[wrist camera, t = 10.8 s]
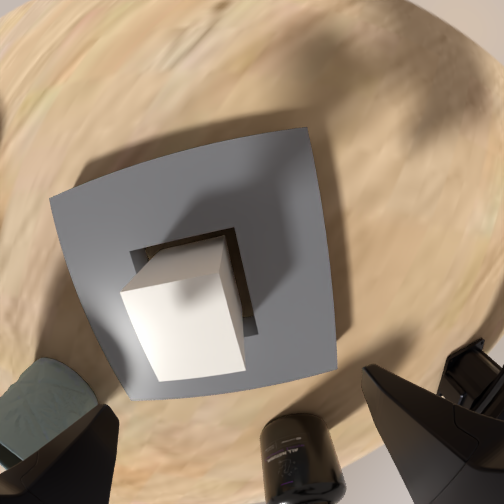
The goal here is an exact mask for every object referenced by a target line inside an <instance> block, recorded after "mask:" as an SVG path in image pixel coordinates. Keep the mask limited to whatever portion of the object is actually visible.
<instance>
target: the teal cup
mask: <svg viewBox="0 0 504 504" xmlns="http://www.w3.org/2000/svg"><path fill="white" fill-rule="evenodd" d="M96 405H98V401H97V399H96V396H95V394H94V392H93V391H92V390H91V388H90V387H89V385H88V384H87V383H86V382H85V381H84V380H83V379H82V378H81V377H80V376H79V375H78V374H77V373H76V372H75V371H73V370H72V369H71V368H69V367H68V366H66V365H65V364H63V363H61V362H59V361H57V360H54V359H51V358H40V359H38V360H36V361H35V362H34V363H33V364H32V365H31V366H30V367H28V368H27V369H26V370H25V371H24V372H23V373H22V374H21V376H20V377H19V379H18V381H17V382H16V383H14V384H12V385H11V386H10V387H9V389H8V390H7V391H6V392H5V393H4V394H3V395H2V396H1V397H0V465H1V466H2V467H4V468H5V469H6V470H8V469H10V468H11V467H13V466H15V465H17V464H18V463H20V462H21V461H23V460H25V459H26V458H28V457H29V456H30V455H32V454H33V453H35V452H36V451H37V450H39V449H40V448H41V447H43V446H44V445H45V444H47V443H48V442H49V441H51V440H52V439H53V438H55V437H56V436H57V435H59V434H60V433H61V432H63V431H64V430H65V429H67V428H68V427H69V426H71V425H72V424H73V423H74V422H76V421H77V420H78V419H80V418H81V417H82V416H84V415H85V414H86V413H87V412H89V411H90V410H91V409H93V408H94V407H95V406H96Z"/></svg>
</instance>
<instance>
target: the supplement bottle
mask: <svg viewBox="0 0 504 504" xmlns="http://www.w3.org/2000/svg"><path fill="white" fill-rule="evenodd" d="M260 447H261V458H262V469H263V480H264V490H265V500H266V504H337V503H338V502H339V501H340V500H341V499H342V498H343V497H344V495H345V492H346V483H345V480H344V477H343V473H342V470H341V467H340V464H339V461H338V458H337V455H336V451H335V448H334V445H333V442H332V439H331V436H330V433H329V430H328V427H327V425H326V423H325V422H324V420H323V419H321V418H320V417H318V416H315V415H312V414H292V415H287V416H284V417H281V418H278V419H276V420H274V421H272V422H271V423H269V424H268V425H267V426H266V427H265V428H264V429H263V431H262V433H261V435H260Z"/></svg>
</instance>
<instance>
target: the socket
mask: <svg viewBox="0 0 504 504" xmlns="http://www.w3.org/2000/svg"><path fill="white" fill-rule="evenodd" d="M49 200H50V205H51V210H52V214H53V218H54V222H55V226H56V230H57V234H58V237H59V241H60V244H61V248H62V251H63V254H64V258H65V261H66V264H67V267H68V270H69V273H70V276H71V278H72V281H73V284H74V287H75V289H76V292H77V294H78V297H79V299H80V302H81V304H82V307H83V309H84V312H85V314H86V316H87V319H88V321H89V323H90V325H91V328H92V330H93V332H94V334H95V336H96V338H97V340H98V342H99V344H100V346H101V348H102V350H103V352H104V354H105V356H106V358H107V360H108V362H109V364H110V366H111V367H112V369H113V371H114V373H115V375H116V376H117V378H118V380H119V381H120V383H121V385H122V387H123V388H124V390H125V392H126V393H127V395H128V396H129V398H130V400H131V401H140V400H164V399H179V398H190V397H200V396H209V395H217V394H224V393H231V392H238V391H244V390H250V389H255V388H261V387H266V386H271V385H276V384H281V383H285V382H290V381H294V380H298V379H302V378H306V377H310V376H314V375H318V374H322V373H325V372H329V371H332V370H336V369H337V346H336V328H335V314H334V302H333V291H332V280H331V271H330V262H329V253H328V245H327V238H326V230H325V223H324V216H323V210H322V203H321V197H320V191H319V185H318V180H317V174H316V169H315V163H314V158H313V153H312V148H311V143H310V139H309V134H308V129H307V127H303V128H295V129H288V130H281V131H275V132H269V133H263V134H257V135H251V136H246V137H241V138H236V139H231V140H226V141H222V142H217V143H213V144H208V145H204V146H200V147H196V148H192V149H188V150H184V151H180V152H177V153H173V154H170V155H166V156H163V157H159V158H156V159H152V160H149V161H146V162H143V163H140V164H137V165H133V166H130V167H127V168H125V169H122V170H119V171H116V172H113V173H110V174H108V175H105V176H102V177H99V178H97V179H94V180H92V181H89V182H86V183H84V184H82V185H79V186H77V187H74V188H72V189H69V190H67V191H65V192H62V193H60V194H58V195H56V196H53V197H51V198H49ZM232 227H234V228H235V232H236V237H237V241H238V246H239V250H240V255H241V259H242V264H243V268H244V272H245V277H246V281H247V286H248V290H249V294H250V299H251V303H252V307H253V312H254V316H251V317H246V318H243V334H244V350H245V365H246V371H240V372H234V373H228V374H222V375H215V376H208V377H200V378H192V379H183V380H173V381H161V382H159V380H158V378H157V376H156V374H155V372H154V370H153V368H152V366H151V364H150V362H149V360H148V358H147V356H146V354H145V352H144V350H143V347H142V345H141V343H140V341H139V339H138V336H137V334H136V332H135V329H134V327H133V325H132V322H131V320H130V317H129V315H128V312H127V310H126V307H125V305H124V302H123V300H122V297H121V294H120V291H121V290H122V289H123V288H124V287H125V286H126V285H127V284H128V283H129V282H130V281H131V280H132V279H133V277H134V276H135V275H136V274H137V273H138V272H139V271H140V270H141V269H142V268H143V267H144V266H145V265H146V264H147V263H148V262H149V261H148V258H147V255H146V251H145V247H149V246H153V245H157V244H162V243H166V242H170V241H174V240H179V239H183V238H187V237H192V236H196V235H200V234H205V233H209V232H214V231H218V230H223V229H227V228H232Z"/></svg>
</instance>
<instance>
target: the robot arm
mask: <svg viewBox="0 0 504 504" xmlns="http://www.w3.org/2000/svg"><path fill="white" fill-rule="evenodd" d="M484 341H485V340H484V339H483V338H481V339H479V340H477V341H476V342H474V343H472V344H471V345H469V346H467V347H466V348H464V349H462V350H460V351H459V352H457V353H455V354H453V355H451V356H450V357H449V358H448V359H447V360H446V364H445V367H444V371H443V375H442V378H441V381H440V385H439V388H438V391H437V394H434V393H432V392H430V391H428V390H426V389H423V388H421V387H419V386H417V385H415V384H413V383H411V382H409V381H407V380H405V379H403V378H401V377H399V376H397V375H395V374H393V373H392V372H390V371H388V370H386V369H384V368H382V367H380V366H378V365H376V364H371V365H368V366H365V367H363V368H362V379H361V387H362V391H363V393H364V396H365V399H366V401H367V404H368V407H369V410H370V412H371V415H372V418H373V421H374V423H375V426H376V428H377V430H378V432H379V434H380V436H381V438H382V440H383V442H384V443H385V445H386V447H387V449H388V451H389V453H390V455H391V457H392V459H393V461H394V463H395V465H396V467H397V469H398V471H399V473H400V475H401V477H402V479H403V481H404V483H405V485H406V487H407V489H408V491H409V493H410V496H411V498H412V500H413V502H414V504H504V365H503V368H501V367H500V366H499V365H498V364H497V363H496V362H495V361H493V360H492V359H491V358H490V357H489V356H488V355H487V354H486V353H484V352H483V351H482V348H483V345H484ZM441 396H444V397H445V399H444V398H442V397H441ZM118 433H119V420H118V418H117V416H116V415H115V414H114V412H113V411H112V409H111V408H110V407H109V406H108V405H106V404H98V405H96V406H95V407H94V408H93V409H91V410H90V411H89V412H87V413H86V414H85V415H84V416H82V417H81V418H80V419H78V420H77V421H76V422H74V423H73V424H72V425H71V426H69V427H68V428H67V429H65V430H64V431H63V432H61V433H60V434H59V435H57V436H56V437H55V438H53V439H52V440H51V441H49V442H48V443H47V444H45V445H44V446H43V447H41V448H40V449H39V450H37V451H36V452H35V453H33V454H32V455H30V456H29V457H28V458H26V459H25V460H23V461H21V462H20V463H18V464H17V465H15V466H13V467H11V468H10V469H8V470H6V471H4V472H3V473H1V474H0V504H109V497H110V491H111V484H112V478H113V472H114V467H115V461H116V454H117V443H118Z"/></svg>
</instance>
